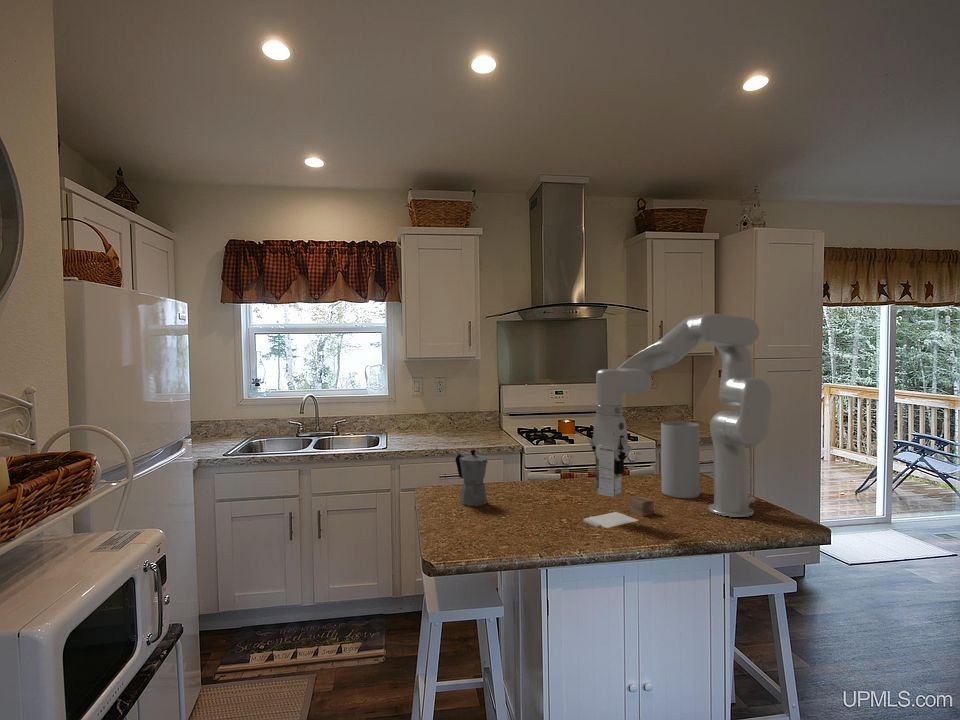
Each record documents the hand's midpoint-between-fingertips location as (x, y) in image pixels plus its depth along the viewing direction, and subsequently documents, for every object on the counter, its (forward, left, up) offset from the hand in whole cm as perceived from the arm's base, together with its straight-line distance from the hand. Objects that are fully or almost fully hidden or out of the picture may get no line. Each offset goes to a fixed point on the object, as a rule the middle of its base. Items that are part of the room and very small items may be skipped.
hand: (609, 470), depth 148 cm
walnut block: (-13, 0, -15) cm, 20 cm away
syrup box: (0, 0, -7) cm, 7 cm away
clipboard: (0, 0, -15) cm, 15 cm away
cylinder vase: (-43, -10, -15) cm, 47 cm away
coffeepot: (+25, -40, -15) cm, 50 cm away
